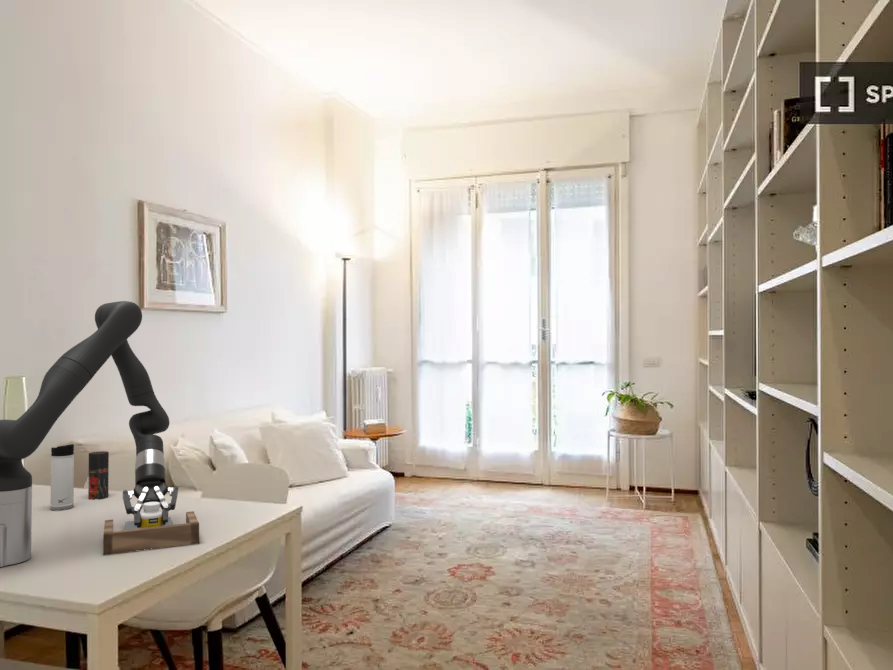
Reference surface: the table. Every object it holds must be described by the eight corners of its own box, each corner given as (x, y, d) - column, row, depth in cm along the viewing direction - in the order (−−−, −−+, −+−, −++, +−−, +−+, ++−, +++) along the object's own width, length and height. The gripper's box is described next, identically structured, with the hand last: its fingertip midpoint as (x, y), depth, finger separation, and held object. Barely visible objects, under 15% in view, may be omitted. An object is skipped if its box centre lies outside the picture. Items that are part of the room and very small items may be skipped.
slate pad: (125, 523, 191) (125, 521, 191) (170, 518, 196) (170, 516, 196) (125, 534, 180) (125, 532, 180) (173, 528, 185) (173, 527, 185)
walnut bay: (104, 539, 175) (104, 520, 175) (193, 529, 185) (193, 511, 185) (103, 555, 162) (103, 534, 162) (199, 543, 172) (199, 523, 172)
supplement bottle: (147, 545, 169) (148, 506, 169) (135, 542, 172) (135, 504, 172) (166, 540, 174) (167, 502, 174) (153, 536, 176) (154, 499, 177)
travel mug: (64, 511, 205) (64, 446, 205) (45, 510, 206) (46, 445, 206) (79, 506, 211) (79, 443, 211) (61, 505, 212) (61, 442, 212)
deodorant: (112, 496, 224) (112, 452, 224) (94, 500, 219) (94, 454, 219) (102, 494, 227) (102, 450, 227) (84, 498, 222) (85, 453, 222)
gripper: (121, 463, 177) (120, 519, 166) (179, 460, 183) (182, 513, 172) (121, 480, 181) (120, 535, 170) (177, 475, 188) (180, 529, 177)
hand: (151, 524), depth 171 cm, fingers closed on supplement bottle, 5 cm apart
